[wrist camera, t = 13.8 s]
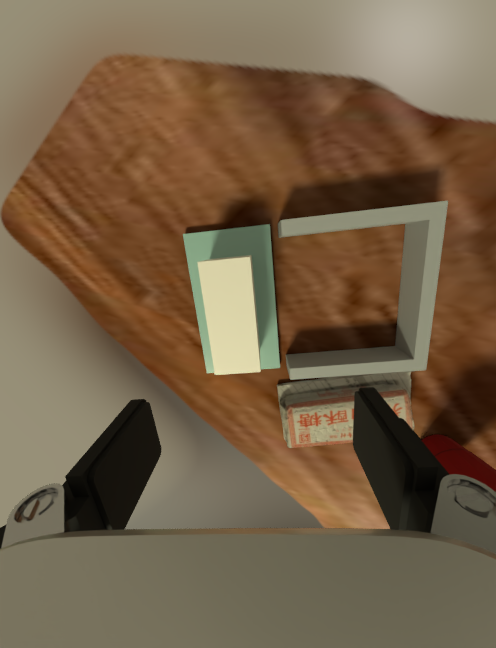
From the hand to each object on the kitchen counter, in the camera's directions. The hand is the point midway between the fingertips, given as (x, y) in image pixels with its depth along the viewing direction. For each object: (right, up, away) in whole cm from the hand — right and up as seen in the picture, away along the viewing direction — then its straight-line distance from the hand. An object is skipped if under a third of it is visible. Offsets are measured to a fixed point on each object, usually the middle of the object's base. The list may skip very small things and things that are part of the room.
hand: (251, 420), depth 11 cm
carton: (-2, +6, +19) cm, 20 cm away
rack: (+12, +8, +19) cm, 24 cm away
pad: (-2, +7, +20) cm, 21 cm away
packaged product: (+14, -7, +24) cm, 29 cm away
